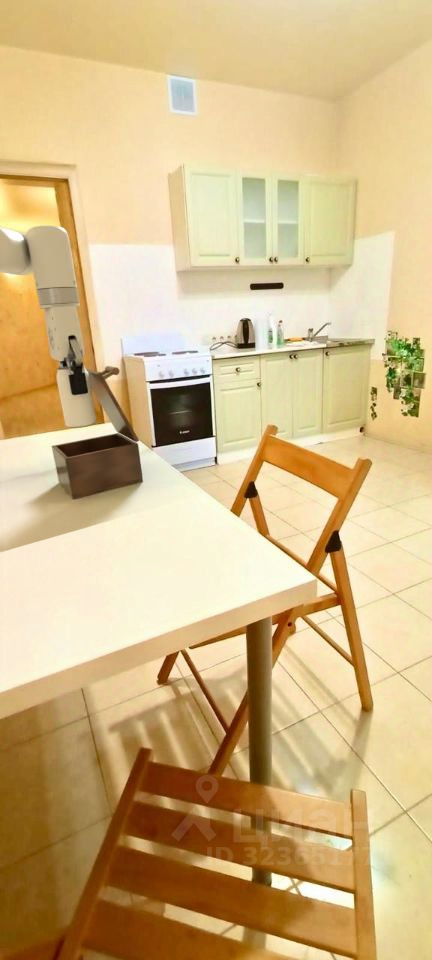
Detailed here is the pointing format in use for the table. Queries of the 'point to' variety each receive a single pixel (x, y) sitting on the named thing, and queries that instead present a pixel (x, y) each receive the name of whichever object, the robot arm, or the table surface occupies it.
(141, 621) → the table surface
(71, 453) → the chest
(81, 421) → the can
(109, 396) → the lid
